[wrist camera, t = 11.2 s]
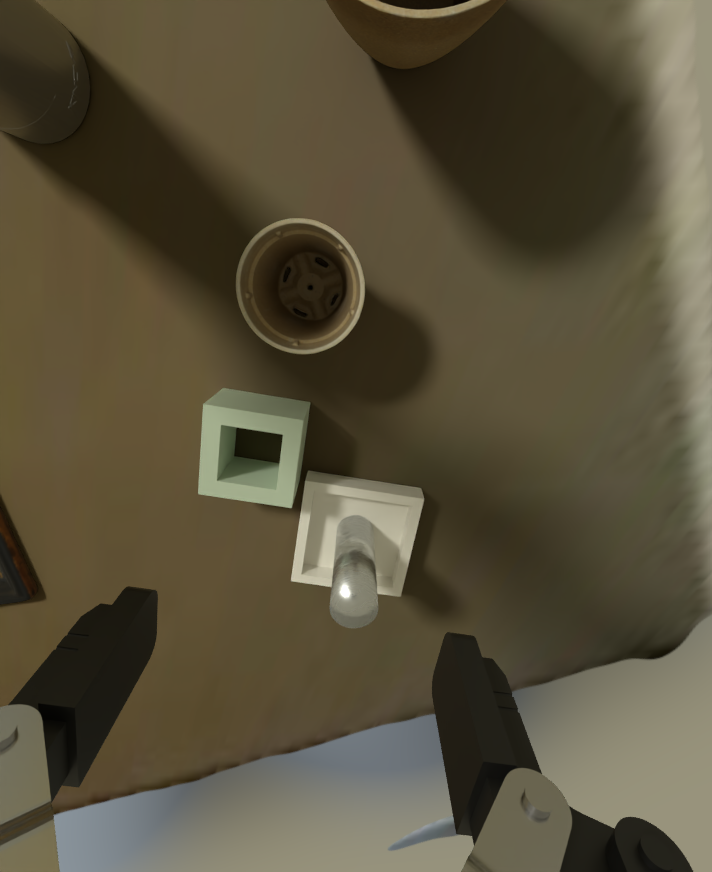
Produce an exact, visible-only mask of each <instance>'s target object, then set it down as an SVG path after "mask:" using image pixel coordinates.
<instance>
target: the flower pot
mask: <svg viewBox="0 0 712 872" xmlns="http://www.w3.org/2000/svg"><path fill="white" fill-rule="evenodd" d="M316 258H321V259H323V260H324V261H325V262H327V263H328V266H327V267H324V266H322V265H320V264H319V263H316V262H315V260H316ZM287 267H289V268H290V269H291V272H290V274H289V275H288V278H287V281H286V282H284V281H283V280H284V274H285V271H286V269H287ZM309 285H312V286H313V289H312V290H309V289H308V286H309ZM236 293H237V299H238V303H239V307H240V309H241V312H242V314H243V316H244V318H245V320H246V322H247V323H248V325H249V326H250V328H251V329H252V330H253V331H254V332H255V333H256V334H257V335H258V336H259V337H260V338H261V339H262V340H264V341H265V342H266V343H268V344H270V345H271V346H273V347H275V348H277V349H280V350H282V351H285V352H289V353H294V354H313V353H318V352H321V351H324V350H327V349H329V348H331V347H333V346H335V345H337V344H338V343H339V342H341V341H342V340H343V339H344V338H345V337H346V336H347V335H348V334H349V333H350V332H351V330H352V329H353V328H354V326H355V325H356V323H357V321H358V319H359V317H360V314H361V311H362V308H363V304H364V299H365V281H364V275H363V270H362V267H361V264H360V261H359V259H358V257H357V255H356V253H355V252H354V250H353V249H352V247H351V246H350V244H349V243H348V242H347V241H346V240H345V239H344V238H343V237H342V236H341V235H340V234H339V233H338V232H337V231H335V230H334V229H332V228H331V227H329V226H327V225H325V224H323V223H320V222H318V221H314V220H310V219H302V218H292V219H286V220H281V221H278V222H275V223H273V224H271V225H269V226H267V227H265V228H264V229H262V230H261V231H260V232H259V233H257V234H256V235H255V236H254V237H253V239H252V240H251V241H250V242H249V244H248V245H247V247H246V248H245V250H244V252H243V254H242V256H241V259H240V261H239V265H238V269H237V274H236ZM335 294H338V296H337V299H336V301H335V303H334V304H333V305H331V302H332V298H333V297H334V296H335ZM295 308H296V309H298V310H300V311H302V312H304V313H306V314H307V315H306V317H302V316H300V315H297V314H296V313H295V312H294V309H295Z"/></svg>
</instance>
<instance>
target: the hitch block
mask: <svg viewBox="0 0 712 872" xmlns="http://www.w3.org/2000/svg"><path fill="white" fill-rule="evenodd" d="M310 403H311V402H306V401H300V400H294V399H288V398H282V397H276V396H269V395H263V394H257V393H251V392H245V391H239V390H233V389H227V388H223V389H221V390H220V391H219V392H218V393H217V394H215V395H214V396H213V397H212V398H210V399H209V400H208V401H207V402H205V403H204V404H203V419H202V436H201V453H200V470H199V488H198V494H202V495H208V496H215V497H221V498H228V499H234V500H241V501H248V502H254V503H261V504H267V505H274V506H281V507H287V508H292V505H293V502H294V499H295V495H296V492H297V488H298V485H299V482H300V475H301V468H302V461H303V454H304V447H305V439H306V432H307V425H308V418H309V411H310ZM237 427H238V428H244V429H250V430H257V431H263V432H269V433H275V434H282V435H283V439H282V447H281V455H280V463H274V462H268V461H262V460H255V459H249V458H242V457H236V456H234V453H235V441H236V429H237Z"/></svg>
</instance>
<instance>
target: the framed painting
mask: <svg viewBox="0 0 712 872" xmlns="http://www.w3.org/2000/svg"><path fill="white" fill-rule="evenodd" d="M37 590H38V588H37V585H36V583H35V581H34V579H33V577H32V574H31V572H30V570H29V568H28V566H27V563H26V561H25V559H24V557H23V555H22V553H21V550H20V548H19V546H18V544H17V542H16V540H15V537H14V535H13V533H12V530H11V528H10V526H9V524H8V521H7V519H6V517H5V515H4V513H3V511H2V509H1V507H0V604H8V603H15V602H21V601H26V600H29V599H31V598H33V597H34V596H35V594H36V592H37Z"/></svg>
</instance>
